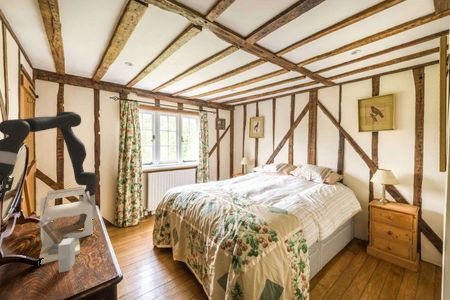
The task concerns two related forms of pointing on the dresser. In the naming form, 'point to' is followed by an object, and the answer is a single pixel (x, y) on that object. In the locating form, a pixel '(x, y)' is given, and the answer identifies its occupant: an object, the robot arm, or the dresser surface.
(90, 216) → the gable box
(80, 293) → the dresser surface
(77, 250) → the switch panel
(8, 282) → the dresser surface
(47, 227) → the breaker lever
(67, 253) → the skincare box
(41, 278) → the dresser surface
